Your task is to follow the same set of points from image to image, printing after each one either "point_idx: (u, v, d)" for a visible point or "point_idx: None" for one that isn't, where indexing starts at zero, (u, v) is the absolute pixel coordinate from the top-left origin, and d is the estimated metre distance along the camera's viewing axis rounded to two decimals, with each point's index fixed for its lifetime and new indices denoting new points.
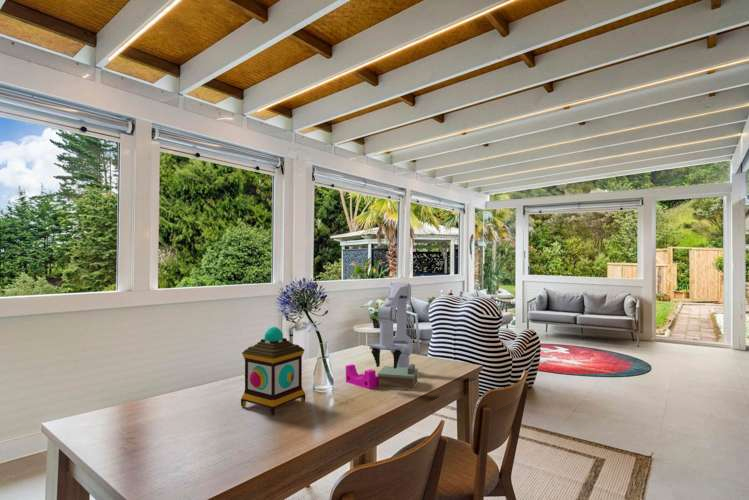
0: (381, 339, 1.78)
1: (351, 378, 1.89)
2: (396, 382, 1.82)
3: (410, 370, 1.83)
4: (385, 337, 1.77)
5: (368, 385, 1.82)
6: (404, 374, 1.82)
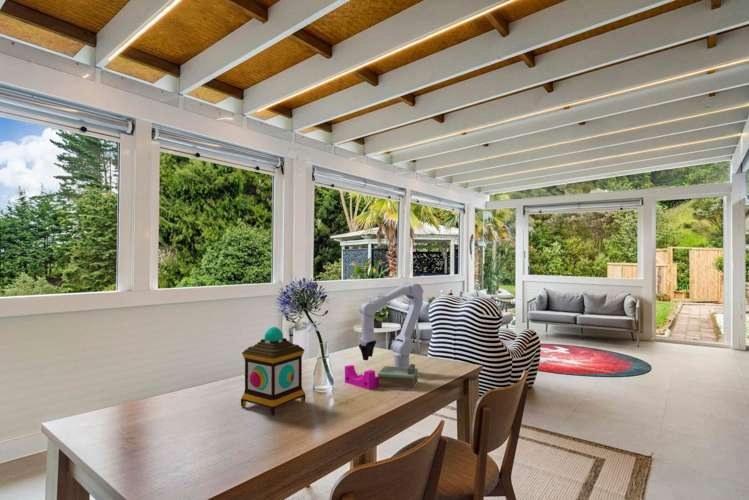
0: None
1: (350, 379, 1.89)
2: (396, 382, 1.82)
3: (410, 370, 1.83)
4: None
5: (368, 386, 1.81)
6: (404, 374, 1.82)
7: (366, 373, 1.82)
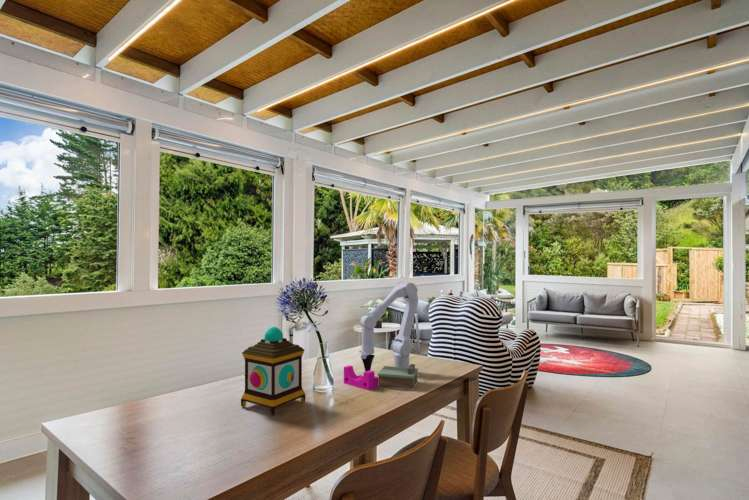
0: None
1: (349, 379, 1.88)
2: (396, 382, 1.82)
3: (410, 370, 1.83)
4: None
5: (367, 386, 1.80)
6: (404, 374, 1.82)
7: (365, 374, 1.81)
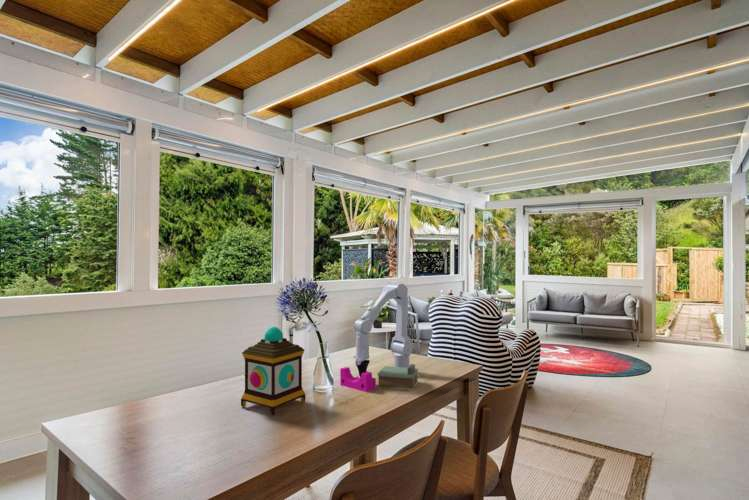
0: None
1: (346, 381, 1.85)
2: (396, 382, 1.82)
3: (410, 370, 1.83)
4: (356, 347, 1.89)
5: (365, 388, 1.78)
6: (404, 374, 1.82)
7: (363, 375, 1.79)
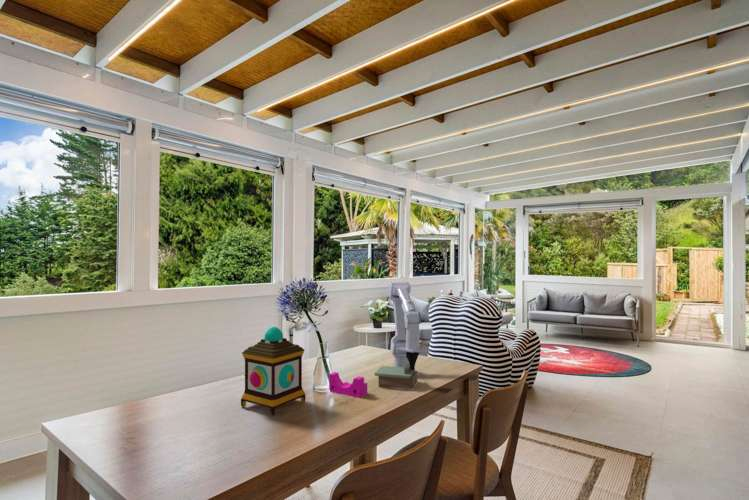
0: (408, 343, 1.85)
1: (336, 387, 1.77)
2: (396, 382, 1.82)
3: (407, 370, 1.83)
4: (412, 341, 1.84)
5: (358, 393, 1.71)
6: (401, 374, 1.83)
7: (355, 380, 1.72)
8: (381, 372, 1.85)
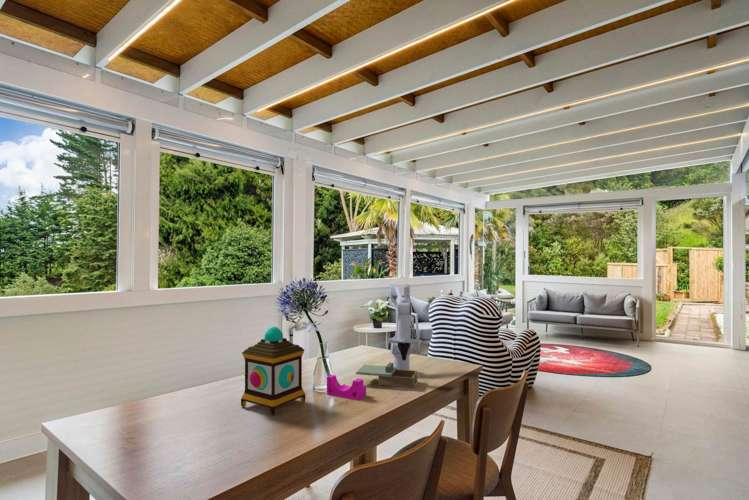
0: (399, 333, 1.88)
1: (334, 390, 1.73)
2: (396, 382, 1.82)
3: (388, 368, 1.85)
4: (403, 331, 1.88)
5: (357, 396, 1.68)
6: (382, 372, 1.85)
7: (355, 382, 1.69)
8: (363, 371, 1.88)
